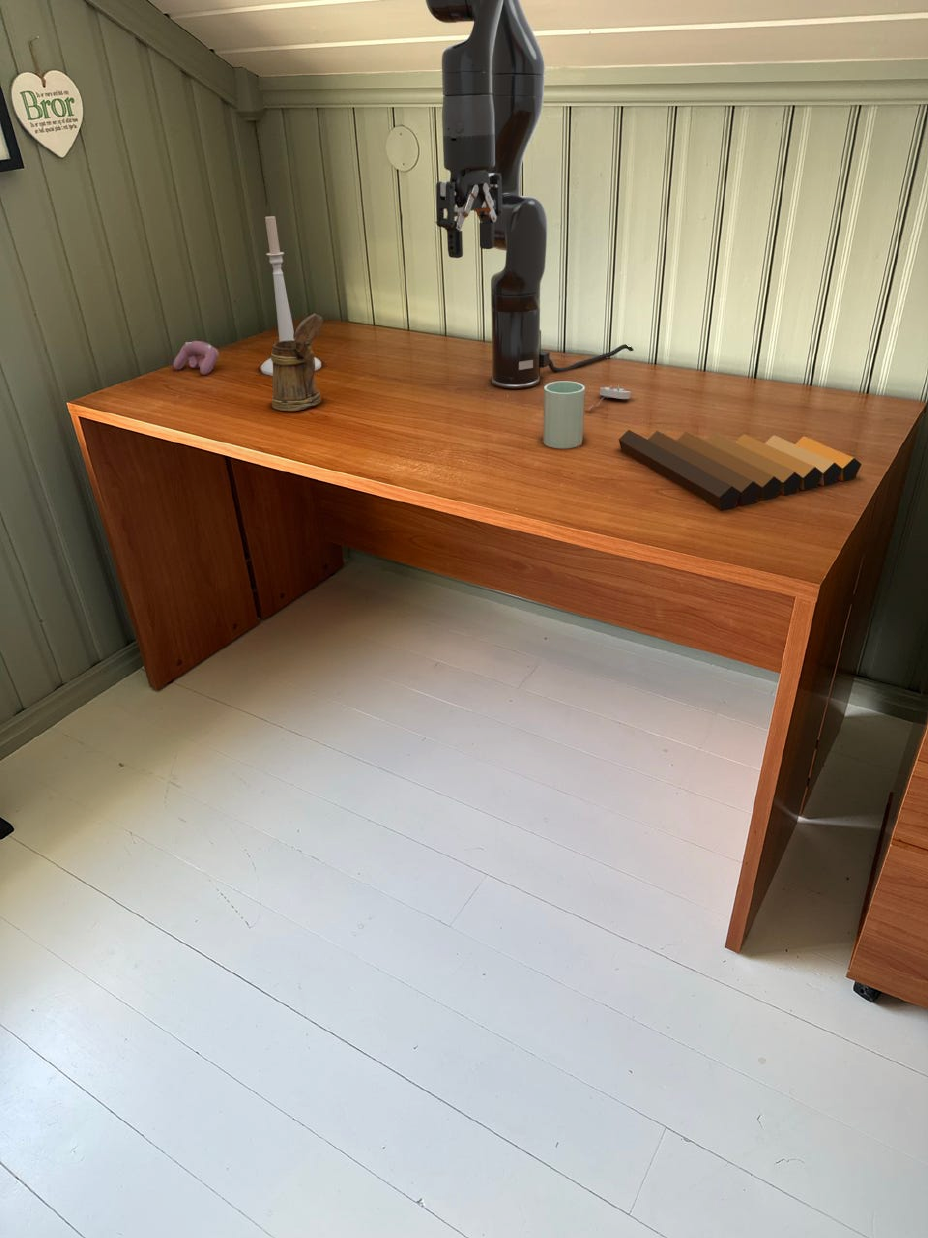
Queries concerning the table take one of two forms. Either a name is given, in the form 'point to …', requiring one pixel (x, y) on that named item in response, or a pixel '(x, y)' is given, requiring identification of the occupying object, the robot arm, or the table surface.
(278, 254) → the candlestick
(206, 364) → the video game controller
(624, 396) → the game controller
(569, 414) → the cup
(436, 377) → the table surface
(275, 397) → the wooden mug
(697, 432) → the table surface
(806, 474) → the pan flute
